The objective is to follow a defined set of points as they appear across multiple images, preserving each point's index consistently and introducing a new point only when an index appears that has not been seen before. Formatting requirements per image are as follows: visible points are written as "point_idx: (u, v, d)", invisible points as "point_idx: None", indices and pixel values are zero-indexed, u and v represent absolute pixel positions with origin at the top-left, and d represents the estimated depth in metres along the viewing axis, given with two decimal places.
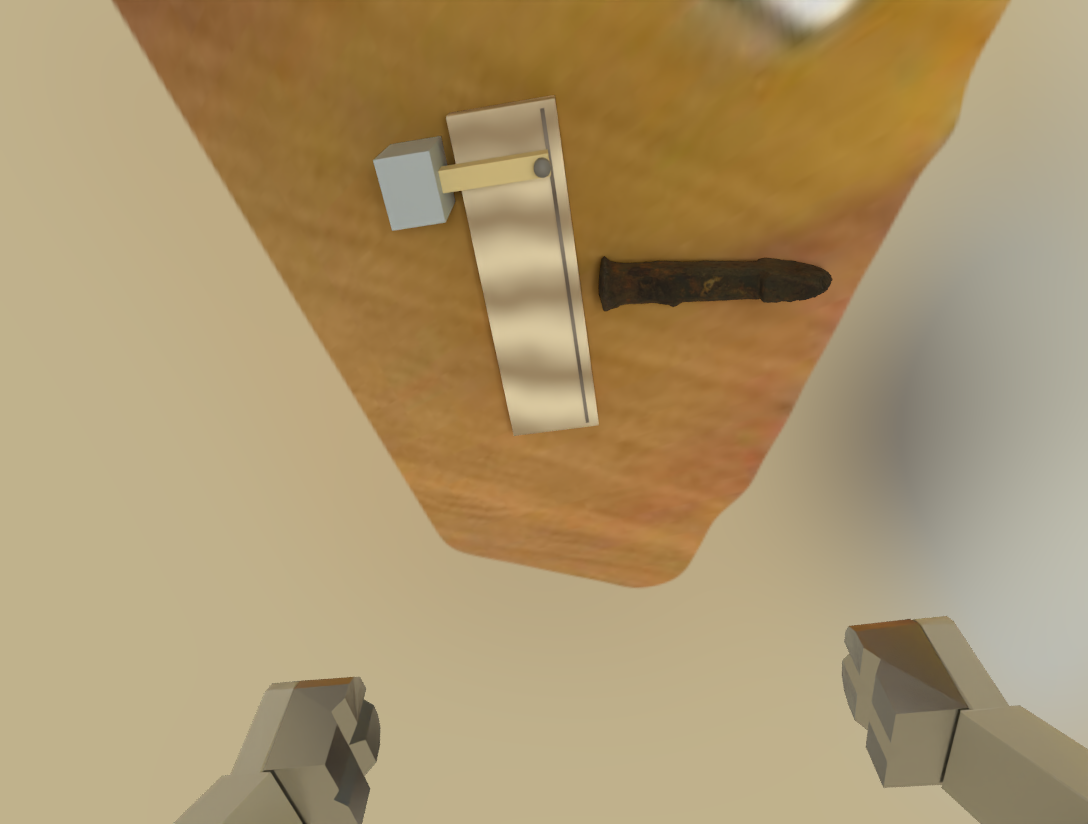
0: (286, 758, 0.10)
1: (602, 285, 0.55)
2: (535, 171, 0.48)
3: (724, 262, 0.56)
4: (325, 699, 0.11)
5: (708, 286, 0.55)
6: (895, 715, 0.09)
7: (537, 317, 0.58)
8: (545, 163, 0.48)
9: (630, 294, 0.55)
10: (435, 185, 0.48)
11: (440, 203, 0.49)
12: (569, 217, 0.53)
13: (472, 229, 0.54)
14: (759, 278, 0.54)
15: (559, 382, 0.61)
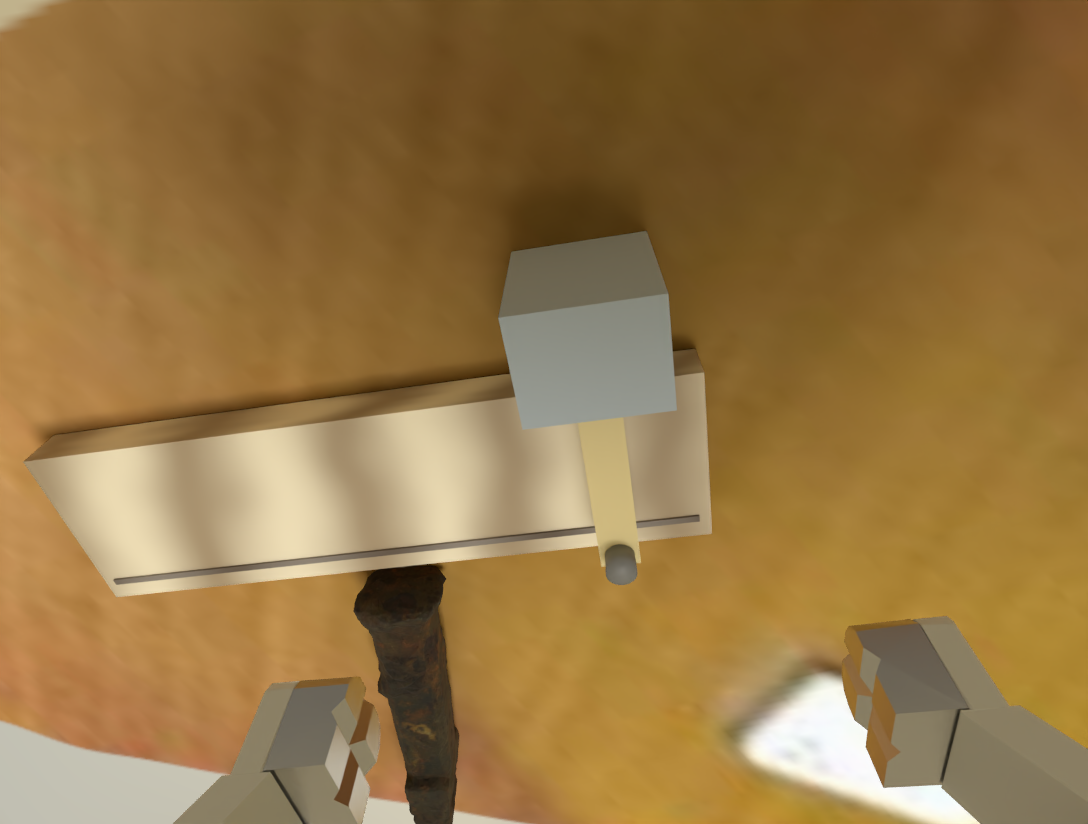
0: (286, 758, 0.10)
1: (402, 613, 0.31)
2: (618, 564, 0.26)
3: (451, 712, 0.38)
4: (325, 699, 0.11)
5: (419, 729, 0.35)
6: (895, 715, 0.09)
7: (318, 506, 0.29)
8: (631, 578, 0.26)
9: (391, 647, 0.32)
10: (604, 416, 0.22)
11: (564, 422, 0.22)
12: (516, 552, 0.30)
13: (485, 406, 0.26)
14: (438, 775, 0.37)
15: (186, 539, 0.30)
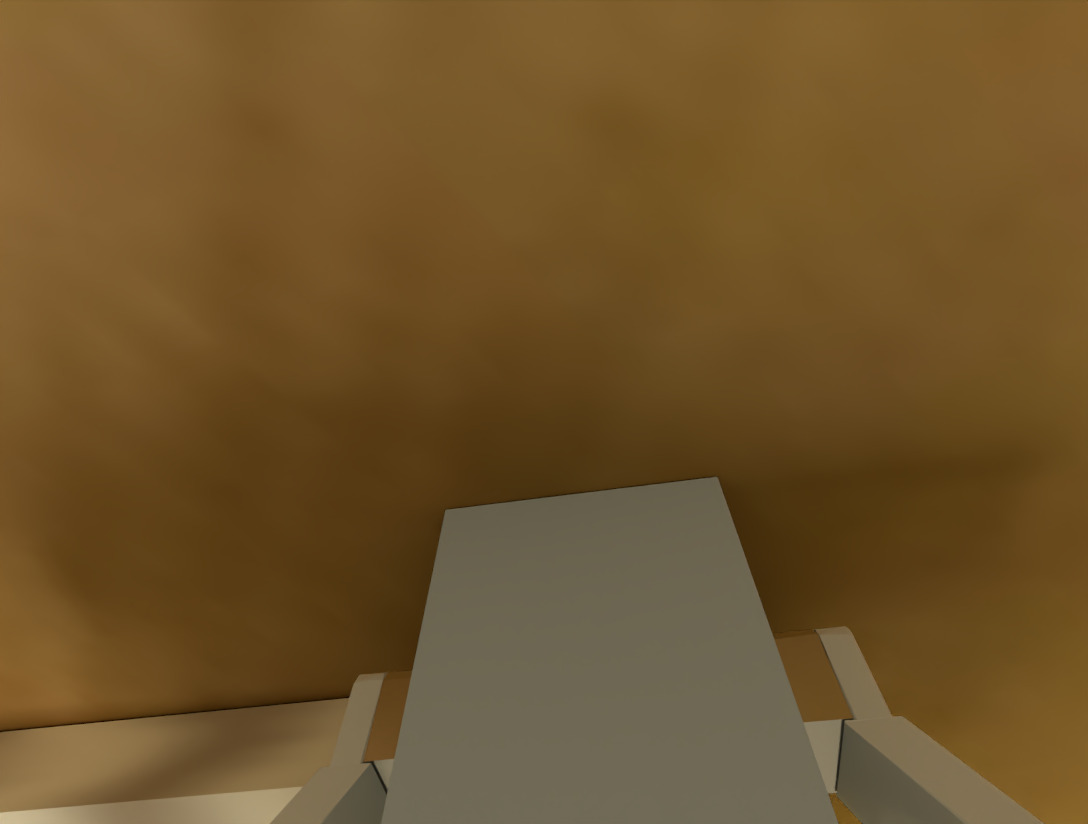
0: (385, 749, 0.10)
1: None
2: None
3: None
4: None
5: None
6: None
7: None
8: None
9: None
10: None
11: None
12: None
13: None
14: None
15: None
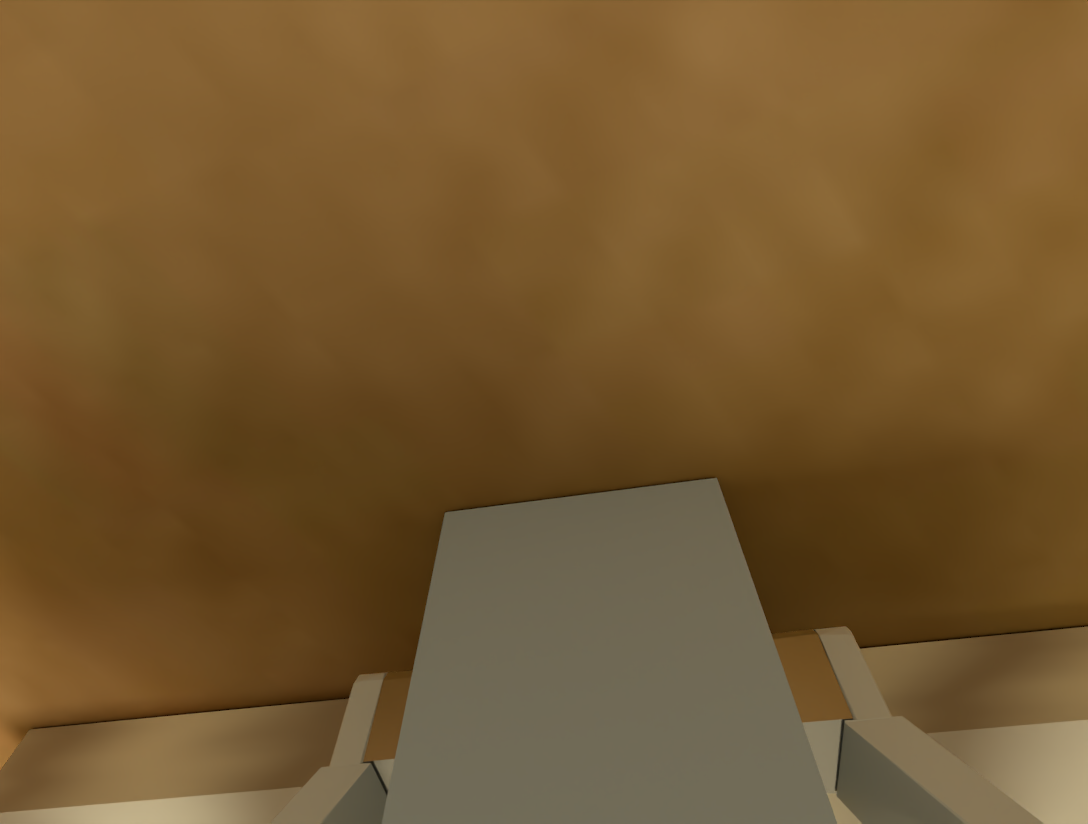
0: (385, 749, 0.10)
1: None
2: None
3: None
4: None
5: None
6: None
7: None
8: None
9: None
10: None
11: None
12: None
13: None
14: None
15: None
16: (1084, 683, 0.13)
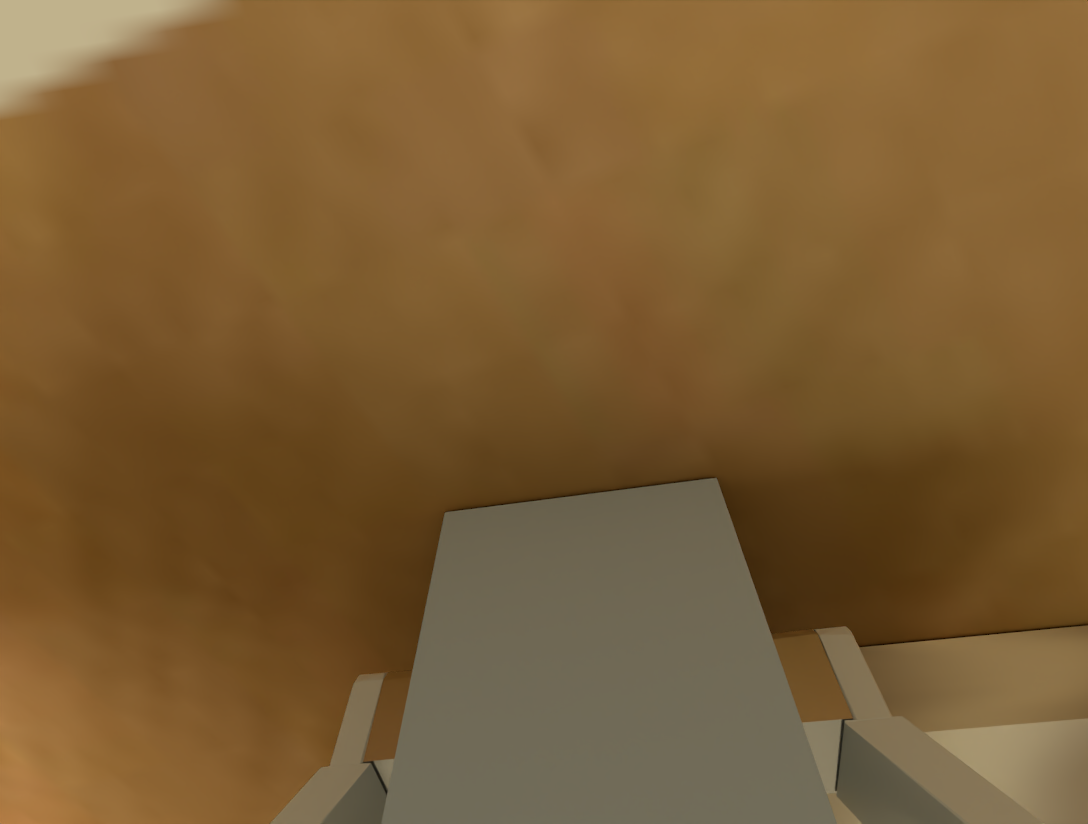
0: (385, 749, 0.10)
1: None
2: None
3: None
4: None
5: None
6: None
7: None
8: None
9: None
10: None
11: None
12: None
13: None
14: None
15: None
16: None
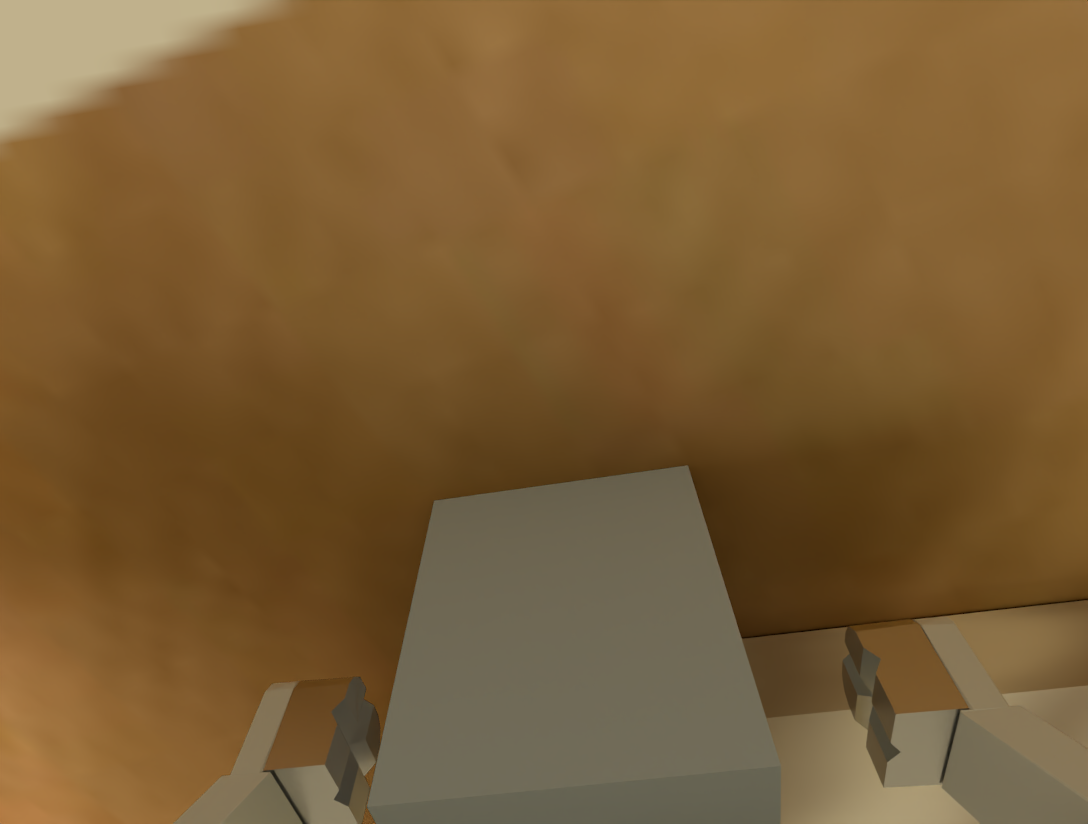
0: (286, 758, 0.10)
1: None
2: None
3: None
4: (325, 699, 0.11)
5: None
6: (895, 715, 0.09)
7: (946, 811, 0.15)
8: None
9: None
10: None
11: None
12: None
13: None
14: None
15: None
16: None
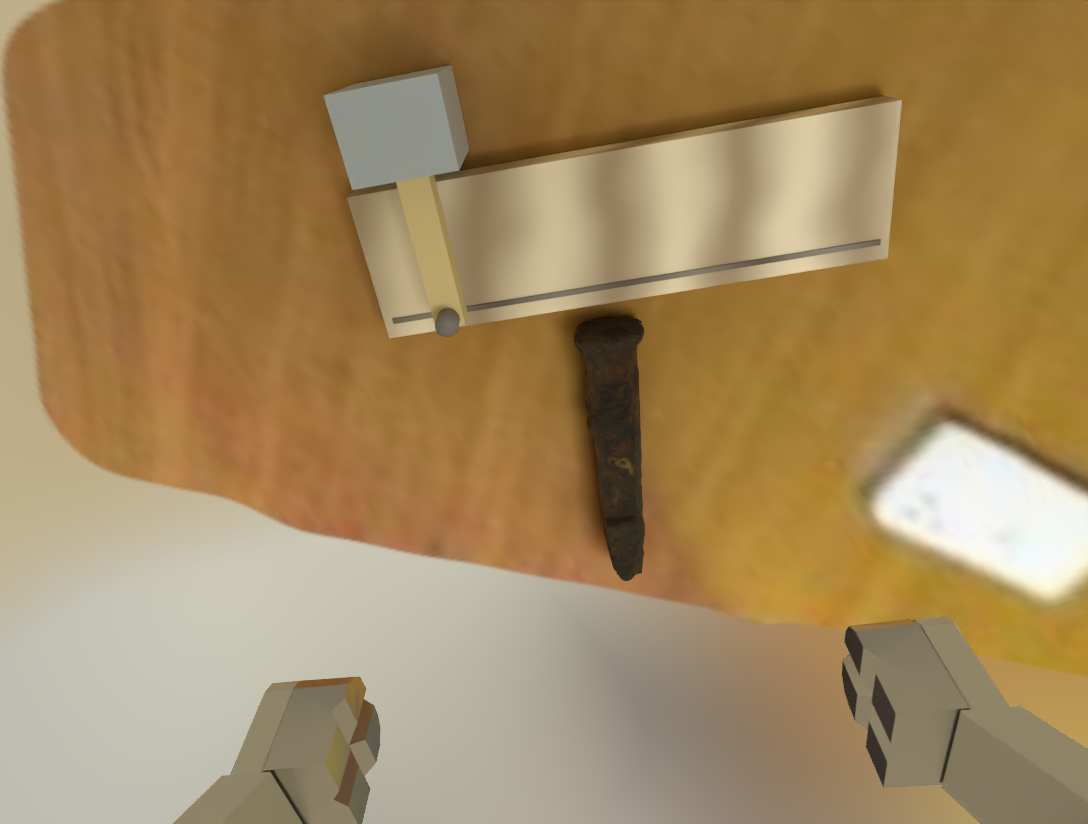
0: (286, 758, 0.10)
1: (618, 337, 0.38)
2: (442, 317, 0.35)
3: None
4: (325, 699, 0.11)
5: (621, 463, 0.42)
6: (895, 715, 0.09)
7: (577, 238, 0.36)
8: (454, 330, 0.35)
9: (607, 374, 0.39)
10: (408, 177, 0.31)
11: (381, 183, 0.31)
12: (729, 281, 0.38)
13: (729, 134, 0.34)
14: (634, 513, 0.44)
15: (462, 275, 0.37)
16: (792, 116, 0.34)
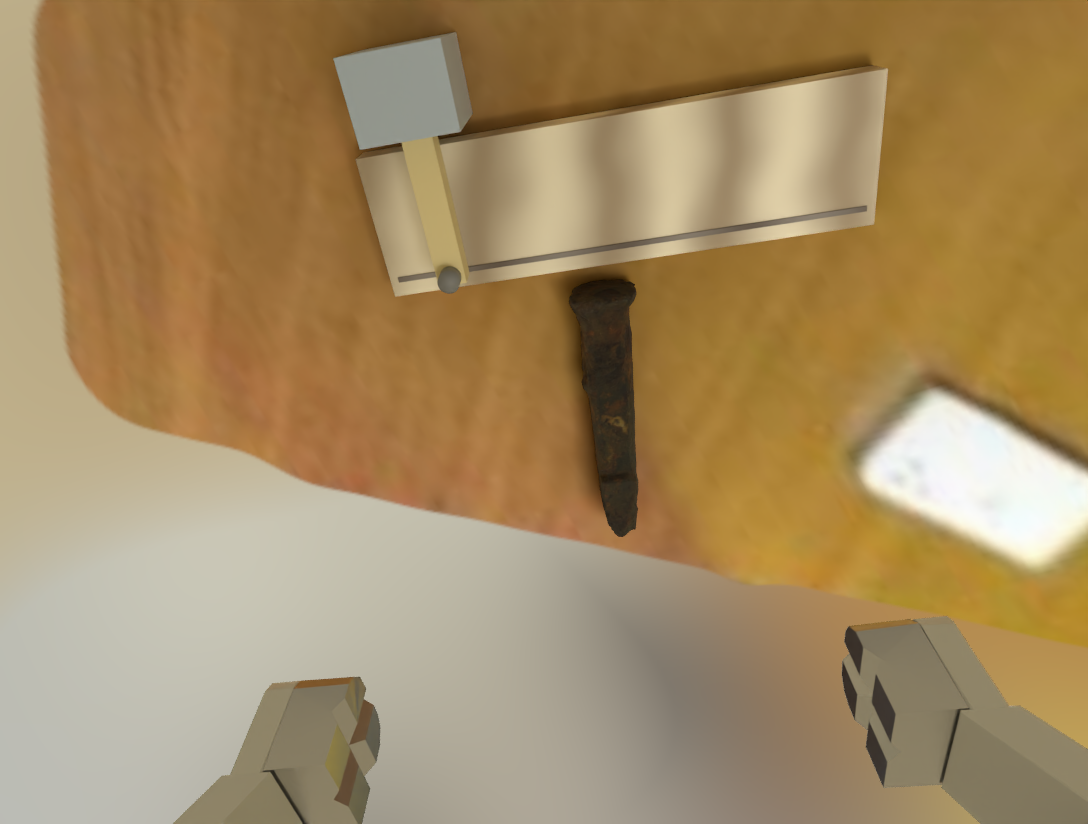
0: (286, 758, 0.10)
1: (611, 298, 0.40)
2: (444, 274, 0.37)
3: None
4: (325, 699, 0.11)
5: (615, 422, 0.44)
6: (895, 715, 0.09)
7: (574, 201, 0.38)
8: (455, 287, 0.37)
9: (600, 334, 0.41)
10: (412, 138, 0.33)
11: (387, 143, 0.33)
12: (720, 245, 0.39)
13: (721, 101, 0.35)
14: (627, 471, 0.46)
15: (464, 235, 0.39)
16: (782, 84, 0.36)
